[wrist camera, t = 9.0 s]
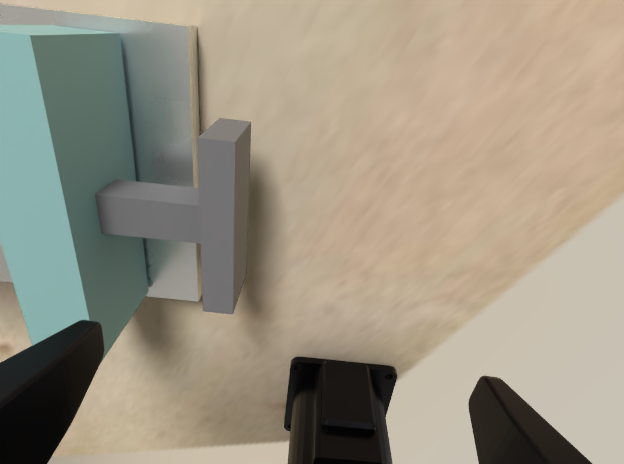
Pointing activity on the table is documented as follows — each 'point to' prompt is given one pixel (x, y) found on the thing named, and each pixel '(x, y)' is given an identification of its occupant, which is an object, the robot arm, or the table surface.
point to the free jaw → (101, 187)
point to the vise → (149, 124)
